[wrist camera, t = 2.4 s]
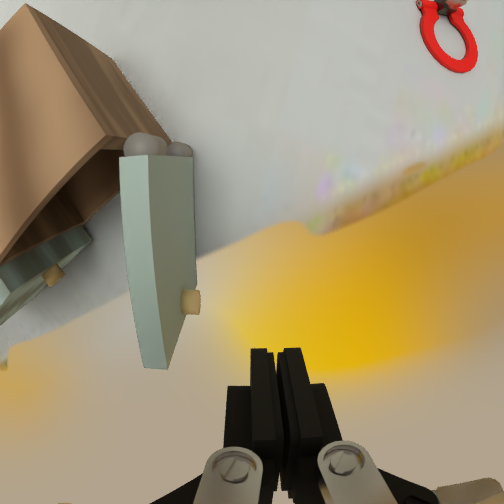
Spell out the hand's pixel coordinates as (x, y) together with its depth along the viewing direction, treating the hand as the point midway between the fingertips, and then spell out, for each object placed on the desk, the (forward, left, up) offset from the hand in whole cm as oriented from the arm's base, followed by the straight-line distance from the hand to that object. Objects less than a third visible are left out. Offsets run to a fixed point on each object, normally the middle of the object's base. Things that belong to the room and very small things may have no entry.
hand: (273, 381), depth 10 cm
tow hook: (+32, +7, -21) cm, 39 cm away
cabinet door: (-3, +5, -19) cm, 20 cm away
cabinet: (-13, +16, -20) cm, 29 cm away
